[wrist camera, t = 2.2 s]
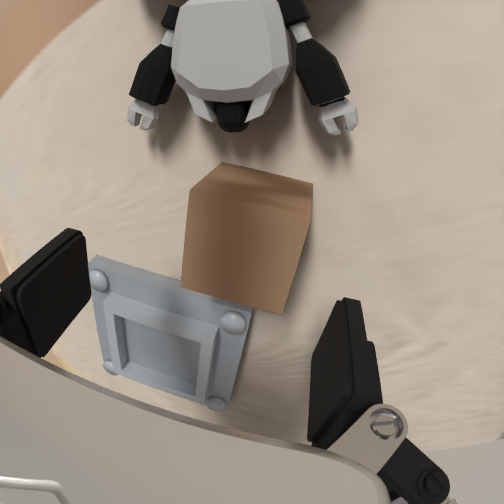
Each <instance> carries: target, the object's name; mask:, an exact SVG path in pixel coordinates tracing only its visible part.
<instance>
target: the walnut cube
mask: <svg viewBox="0 0 504 504" xmlns="http://www.w3.org/2000/svg"><path fill="white" fill-rule="evenodd" d="M312 192H313V184H312V183H308V182H304V181H300V180H296V179H292V178H289V177H285V176H280V175H276V174H272V173H268V172H264V171H260V170H255V169H251V168H246V167H242V166H237V165H233V164H228V163H224V162H222V163H221V164H219V165H218V166H217V167H216V168H215V169H213V170H212V171H211V172H210V173H209V174H208V175H206V176H205V177H204V178H203V179H202V180H201V181H199V182H198V183H197V184H196V185H195V186H194V187H193V188H191V189H190V193H189V202H188V211H187V221H186V231H185V242H184V253H183V265H182V277H181V287H182V288H185V289H188V290H192V291H195V292H199V293H202V294H206V295H209V296H213V297H216V298H220V299H224V300H227V301H231V302H235V303H238V304H242V305H246V306H249V307H253V308H257V309H261V310H265V311H268V312H272V313H276V314H280V315H282V313H283V310H284V307H285V304H286V300H287V297H288V294H289V291H290V288H291V285H292V281H293V278H294V275H295V272H296V269H297V265H298V262H299V259H300V256H301V252H302V249H303V246H304V242H305V239H306V236H307V232H308V229H309V225H310V222H311V214H312Z"/></svg>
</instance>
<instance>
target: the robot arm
mask: <svg viewBox="0 0 504 504" xmlns="http://www.w3.org/2000/svg"><path fill="white" fill-rule="evenodd" d="M0 288H1V292H0V504H457V502H456V501H455V499H452V500H450V498H449V497H448V494H449V490H450V484H449V479H448V477H447V475H446V474H445V473H444V471H443V470H442V469H440V468H439V467H438V466H437V465H436V464H435V463H434V462H432V461H431V460H430V459H429V458H428V457H427V456H426V455H425V454H424V453H423V452H421V451H420V450H419V449H418V448H417V447H416V446H415V445H414V444H413V443H412V442H410V441H409V440H408V439H407V438H406V435H407V432H408V424H407V420H406V419H405V417H404V415H403V414H402V413H401V412H400V411H399V410H398V409H397V408H395V407H393V406H391V405H388V404H383V399H382V392H381V385H380V378H379V371H378V364H377V358H376V352H375V346H374V343H373V342H371V341H367V337H366V331H365V325H364V319H363V313H362V307H361V302H360V301H359V300H354V299H350V298H346V297H344V298H343V299H342V301H340V300H337V301H336V303H335V306H334V308H333V310H332V312H331V315H330V317H329V319H328V322H327V324H326V326H325V328H324V331H323V333H322V335H321V337H320V339H319V342H318V344H317V346H316V348H315V350H314V352H313V355H312V360H311V379H310V400H309V417H308V433H307V440H308V441H309V442H312V446H309V445H304V444H299V443H295V442H290V441H286V440H280V439H275V438H270V437H266V436H261V435H256V434H252V433H248V432H243V431H239V430H235V429H231V428H227V427H223V426H219V425H215V424H211V423H208V422H204V421H200V420H197V419H193V418H190V417H187V416H183V415H180V414H177V413H174V412H171V411H167V410H164V409H161V408H158V407H155V406H152V405H150V404H147V403H144V402H141V401H138V400H135V399H133V398H130V397H127V396H125V395H122V394H120V393H117V392H114V391H112V390H109V389H107V388H105V387H102V386H100V385H97V384H95V383H93V382H90V381H88V380H86V379H83V378H81V377H79V376H77V375H75V374H72V373H70V372H68V371H66V370H64V369H62V368H59V367H57V366H55V365H53V364H51V363H49V362H47V361H45V360H43V359H41V357H44V356H45V355H46V354H47V353H48V352H49V350H50V349H51V348H52V346H53V345H54V344H55V343H56V341H57V340H58V339H59V337H60V336H61V335H62V334H63V332H64V331H65V330H66V328H67V327H68V326H69V325H70V323H71V322H72V321H73V320H74V318H75V317H76V316H77V315H78V313H79V312H80V311H81V310H82V309H83V307H84V306H85V305H86V304H87V303H88V301H89V300H90V298H91V293H92V292H91V284H90V277H89V268H88V259H87V250H86V239H85V237H84V236H83V234H82V232H81V231H79V230H75V229H71V228H67V229H65V230H64V231H63V232H61V233H60V234H59V235H57V236H56V237H55V238H54V239H52V240H51V241H50V242H49V243H47V244H46V245H45V246H44V247H42V248H41V249H40V250H39V251H38V252H36V253H35V254H34V255H33V256H32V257H30V258H29V259H28V260H27V261H26V262H25V263H23V264H22V265H21V266H20V267H19V268H18V269H17V270H15V271H14V272H13V273H12V274H11V275H10V276H9V277H8V278H6V279H5V280H4V281H3V282H2V283H1V284H0Z"/></svg>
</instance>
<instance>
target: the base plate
mask: <svg viewBox="0 0 504 504" xmlns="http://www.w3.org/2000/svg"><path fill="white" fill-rule="evenodd" d="M88 268H89V277H90V284H91V292H92V300H93V306H94V313H95V319H96V324H97V330H98V335H99V340H100V345H101V350H102V355H103V360H104V364H103V367H104V369H105V370H106V371H107V372H108V373H110V374H112V375H118V374H120V375H122V376H125V377H127V378H130V379H132V380H135V381H137V382H140V383H143V384H145V385H148V386H151V387H153V388H156V389H159V390H162V391H165V392H167V393H170V394H173V395H176V396H179V397H182V398H185V399H189V400H192V401H195V402H198V403H201V404H206V405H207V406H208V407H209V408H210V409H212V410H214V411H223V410H227V409H228V405H229V402H230V398H231V394H232V391H233V387H234V383H235V379H236V375H237V371H238V367H239V363H240V360H241V356H242V352H243V348H244V344H245V340H246V336H247V332H248V328H249V324H250V320H251V316H252V312H253V307H249V306H246V305H242V304H238V303H235V302H231V301H227V300H224V299H220V298H216V297H213V296H209V295H206V294H202V293H199V292H195V291H192V290H188V289H185V288H182V287H181V281H179V280H176V279H172V278H169V277H166V276H162V275H159V274H155V273H152V272H149V271H145V270H142V269H139V268H136V267H132V266H129V265H126V264H123V263H119V262H116V261H113V260H110V259H107V258H104V257H101V256H97V255H96V256H95V257H94V258H93V259H92V260H91V261H90V262H89V263H88Z"/></svg>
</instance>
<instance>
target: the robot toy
mask: <svg viewBox="0 0 504 504" xmlns="http://www.w3.org/2000/svg"><path fill="white" fill-rule="evenodd" d="M310 17H311V16H310V14H309V12H308V11H307V9H306V7H305V5H304V3H303V1H302V0H284V1H282V2H279V3H278V1H277V0H189V1H187V2H186V3H185V4H184V5H183V6H181V7H180V8H179V7H176V6H172V5H169V7H168V9H167V11H166V13H165V15H164V18H163V20H162V22H161V24H162V25H163V27H164V28H167V30H166V33H165V35H164V37H163V40H162V42H161V44H160V45H159V46H158V47H156V48H155V49H154V50H153V51H152V52H151V53H150V54H149V55H148V56H147V57H146V58H144V59H143V60H142V61H141V62H140V64H139V67H138V70H137V72H136V75H135V78H134V81H133V84H132V87H131V90H130V93H129V95H130V96H132V97H134V98H135V100H134V101H133V102H132V104H131V105H130V106H129V108H128V121H129V123H130V124H131V125H133V126H137V125H139V123H140V119H141V116H142V115H144V116H143V120H142V124H141V127H140V129H142V130H150V129H153V128H154V126H155V125H156V123H157V122H158V120H159V118H160V114H159V105H160V104H165V103H166V102H167V101H168V100H169V97H170V94H171V92H172V89H173V87H174V84H175V82H177V84H178V85H179V86H180V87H181V88H182V89H183V90H184V91H185V92H186V93H187V96H188V98H189V100H190V103H191V105H192V108H193V110H194V112H195V114H196V115H198V116H200V117H202V118H204V119H206V120H208V121H210V122H214V121H215V120H218V124H219V126H220V127H221V128H222V129H223V130H224V131H227V132H232V133H233V132H241V131H243V130H245V129H246V128H247V126H248V124H249V121H250V120H252V119H254V118H257V117H259V116H261V115H263V114H264V113H265V112H266V111H267V110H268V109H269V108H270V106H271V103H272V101H273V99H274V96H275V94H276V91H277V89H278V87H279V86H280V85H281V84H283V83H284V82H285V81H286V80H287V77H288V75H289V72H290V69H291V67H292V54H291V44H290V37H289V32H288V29H290V31H291V33H292V35H293V37H294V39H295V41H296V43H297V51H296V73H297V75H298V77H299V79H300V81H301V84H302V86H303V88H304V90H305V92H306V95H307V97H308V99H309V102H310V104H311V105H314V106H315V105H318V104H320V105H319V115H318V122H319V123H320V125H321V126H322V128H323V129H324V130H325V132H326V133H328V134H331V135H339V134H341V131H340V130H339V129H338V127H337V125H336V123H335V121H334V119H333V118H334V117H337V116H340V115H343V117H344V120H345V123H346V130H347V132H348V131H351V130H353V129H354V128H355V127H356V125H357V124H358V114H357V108H356V107H355V106H354V105H353V104H352V103H350V102H349V101H348V100H347V99H346V98H345V97H344V96H345V95H348V94H349V93H350V90H349V87H348V85H347V82H346V80H345V77H344V75H343V73H342V70H341V68H340V66H339V63H338V61H337V59H336V57H335V56H334V55H333V54H331V53H330V52H329V51H328V50H327V49H326V48H325V47H324V46H322V45H321V44H320V43H318V42H317V41H316V40H314V39H313V38H312V36H311V34H310V32H309V30H308V28H307V26H306V24H305V23H307V22H308V20H309V19H310ZM250 100H253V103H252V105H251V106H250Z"/></svg>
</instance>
